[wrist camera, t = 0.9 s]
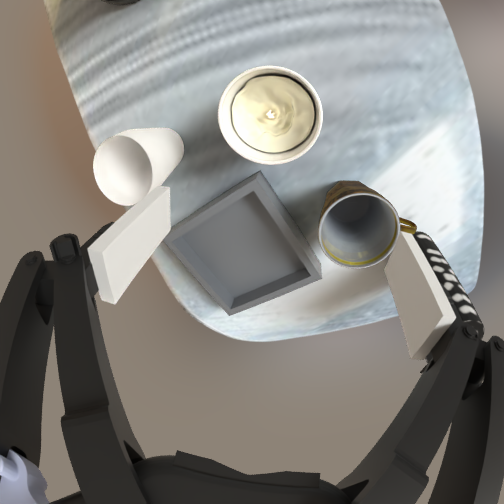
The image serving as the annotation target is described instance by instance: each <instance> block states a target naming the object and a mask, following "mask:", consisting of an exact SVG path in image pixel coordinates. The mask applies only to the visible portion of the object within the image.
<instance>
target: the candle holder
mask: <svg viewBox="0 0 504 504" xmlns="http://www.w3.org/2000/svg"><path fill="white" fill-rule="evenodd" d="M322 121H323V112H322V106H321V102H320V99H319V97H318V95H317V93H316V91H315V90H314V88H313V87H312V86H311V84H310V83H309V82H308V81H307V80H306V79H305V78H303V77H302V76H301V75H299V74H297V73H296V72H294V71H292V70H289V69H286V68H283V67H278V66H260V67H255V68H252V69H249V70H247V71H245V72H243V73H241V74H239V75H238V76H237V77H235V78H234V79H233V80H232V81H231V82H230V83H229V84H228V86H227V87H226V88H225V90H224V92H223V94H222V96H221V98H220V102H219V106H218V122H219V127H220V130H221V133H222V135H223V137H224V139H225V140H226V142H227V143H228V144H229V146H230V147H231V148H232V149H233V150H234V151H235V152H237V153H238V154H239V155H241V156H242V157H244V158H246V159H248V160H250V161H253V162H256V163H260V164H266V165H277V164H283V163H287V162H290V161H293V160H295V159H297V158H299V157H300V156H302V155H303V154H304V153H306V152H307V151H308V150H309V149H310V148H311V147H312V146H313V144H314V143H315V141H316V140H317V138H318V136H319V133H320V131H321V127H322Z"/></svg>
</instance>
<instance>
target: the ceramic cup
mask: <svg viewBox="0 0 504 504" xmlns="http://www.w3.org/2000/svg"><path fill="white" fill-rule="evenodd" d="M400 223H403V224H406V225H409V226H405V225H400ZM410 226H411V227H410ZM416 230H417V226H416V224H414V223H413V222H411V221H409V220H406V219H403V218H400V217H399V216H398V214H397V212H396V210H395V208H394V207H393V205H392V204H391V203H390V202H389V201H388V200H387V199H385V198H384V197H383V196H382V195H380V194H379V193H377V192H376V191H374V190H372V189H370V188H368V187H367V186H365V185H364V184H362V183H361V182H359V181H339V182H338V183H337V184H336V185H335V186H334V187H333V188H332V189H331V190H329V191H328V192H327V195H326V200H325V204H324V207H323V209H322V212H321V216H320V221H319V227H318V239H319V243H320V246H321V248H322V250H323V252H324V253H325V255H326V256H327V257H328V258H329V259H330V260H332V261H333V262H334V263H336V264H338V265H340V266H343V267H346V268H353V269H360V268H366V267H370V266H373V265H375V264H377V263H379V262H381V261H382V260H384V259H385V258H386V257H387V256H388V255H389V254H390V253H391V252H392V251H393V248H394V246H395V243H396V241H397V239H398V236H399V234H400V231H402V232H406V233H410V234H414V233H415V232H416Z"/></svg>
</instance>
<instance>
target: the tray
mask: <svg viewBox="0 0 504 504" xmlns="http://www.w3.org/2000/svg"><path fill="white" fill-rule="evenodd" d="M163 241H164V242H165V243H166V244H167V246H168V247H169V248H170V249H171V250H172V252H173V253H174V254H175V255H176V256H177V258H178V259H179V260H180V261H181V262H182V263H183V265H184V266H185V267H186V268H187V269H188V270H189V271H190V273H191V274H192V275H193V276H194V277H195V278H196V279H197V281H198V282H199V283H200V284H201V285H202V286H203V287H204V289H205V290H206V291H207V292H208V293H209V294H210V295H211V296H212V297H213V299H214V300H215V301H216V302H217V303H218V304H219V305H220V306H221V307H222V308H223V309H224V311H225V312H226V313H227V314H228V315H229V316H230V315H233V314H236V313H238V312H241V311H243V310H246V309H249V308H251V307H254V306H256V305H259V304H261V303H264V302H266V301H269V300H271V299H274V298H276V297H279V296H281V295H284V294H286V293H289V292H291V291H293V290H296V289H298V288H301V287H303V286H305V285H308V284H310V283H312V282H315V281H317V280H319V279H322V274H321V263H320V262H319V260H318V258H317V257H316V255H315V254H314V252H313V250H312V249H311V247H310V246H309V244H308V242H307V241H306V239H305V238H304V236H303V234H302V233H301V231H300V230H299V228H298V227H297V225H296V223H295V222H294V220H293V219H292V217H291V216H290V214H289V213H288V211H287V210H286V208H285V207H284V205H283V204H282V202H281V201H280V199H279V198H278V196H277V195H276V193H275V192H274V190H273V189H272V187H271V186H270V184H269V183H268V181H267V180H266V178H265V177H264V175H263V174H262V172H261V171H259V172H257V173H255V174H254V175H252V176H250V177H249V178H247V179H245V180H244V181H242V182H241V183H239V184H237V185H236V186H234V187H233V188H231V189H229V190H228V191H226V192H225V193H223V194H222V195H220V196H219V197H217V198H215V199H214V200H212V201H211V202H209V203H208V204H206V205H205V206H203V207H202V208H200V209H199V210H197V211H196V212H194V213H193V214H191V215H190V216H188V217H187V218H185V219H184V220H182V221H181V222H179V223H178V224H176V225H175V226H174V227H172V228H171V230H170V231H169V233H168V234H167V235H166V236H165V238H164V239H163Z"/></svg>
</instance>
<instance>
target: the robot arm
mask: <svg viewBox="0 0 504 504" xmlns="http://www.w3.org/2000/svg"><path fill="white" fill-rule="evenodd" d="M101 1H103V2H107V3H110V4H114V5H125V4H130V3H134V2H136V1H139V0H101ZM170 230H171V223H170V187H163V186H157V187H156V188H154V189H153V190H152V191H151V192H150V193H148V194H147V195H146V196H145V197H144V198H142V199H141V200H140V201H139V202H138V203H136V204H135V205H134V206H133V207H132V208H131V209H130V210H128V211H127V212H126V213H125V214H124V215H123V216H122V217H120V218H119V219H118V220H117V221H116V222H111V223H109V224H107V225H105V226H103V227H102V228H101V229H100V230H99V231H98V232H97V233H95V234H94V235H93V236H92V237H91V238H90V239H89V240H88V241H87V242H86V243H85V244H84V245H83V246H82V247H81V248H80V245H79V241H78V237H77V236H76V235H74V234H64V235H61V236H58V237H57V238H55V239H54V240H53V241H52V242H51V244H50V249H51V252H52V255H53V259H54V261H45V260H44V257H43V254H42V252H40V251H33V252H29V253H27V254H26V255H24V256H23V257H22V258H21V260H20V261H19V263H18V265H17V267H16V269H15V271H14V274H13V276H12V278H11V280H10V282H9V284H8V286H7V288H6V291H5V293H4V296H3V298H2V300H1V303H0V504H415V503H416V501H417V500H418V498H419V497H420V495H421V494H422V492H423V491H424V489H425V488H426V486H427V483H428V481H429V477H428V476H427V475H426V471H427V469H428V467H429V465H430V463H431V462H432V460H433V458H434V456H435V454H436V453H437V451H438V449H439V447H440V445H441V443H442V441H443V439H444V437H445V435H446V433H447V431H448V428H449V426H450V424H451V422H452V425H451V429H450V434H449V438H448V443H447V446H446V451H445V454H444V458H443V461H442V465H441V468H440V471H439V474H438V477H437V480H436V483H435V486H434V489H433V492H432V494H431V497H430V499H429V502H428V504H497V503H498V499H499V495H500V491H501V487H502V482H503V477H504V341H503V340H502V339H501V338H499V337H498V336H492V337H491V338H490V340H489V341H488V342H485V341H482V340H480V339H479V336H478V333H477V331H476V330H475V329H474V328H473V327H472V326H471V325H469V324H468V323H464V322H463V321H462V319H461V317H460V315H459V312H458V310H457V308H456V306H455V305H454V302H453V300H452V299H451V296H450V294H449V292H448V290H447V289H446V288H445V287H444V286H443V285H442V283H439V281H438V279H437V277H436V275H435V273H434V272H433V270H432V268H431V266H430V264H429V263H428V261H427V259H426V257H425V255H424V254H423V252H422V250H421V249H420V247H419V245H418V244H417V242H416V240H415V239H414V237H413V235H412V234H410V233H406V232H402V231H400V234H399V236H398V239H397V241H396V243H395V246H394V248H393V251H392V253H391V255H390V258H389V260H388V262H387V264H386V267H385V269H384V271H385V274H386V277H387V280H388V283H389V286H390V289H391V292H392V295H393V298H394V301H395V304H396V308H397V311H398V314H399V317H400V321H401V324H402V328H403V331H404V335H405V339H406V342H407V346H408V350H409V354H410V358H411V359H420V360H424V359H425V357H426V356H427V355H428V354H429V353H430V351H431V353H432V357H433V358H432V359H431V360H430V361H429V363H428V364H427V365H426V366H425V367H424V368H423V370H422V371H421V372H420V373H423V374H422V375H421V377H420V379H419V381H418V382H417V384H416V386H415V388H414V389H413V391H412V393H411V394H410V396H409V397H408V399H407V401H406V402H405V404H404V405H403V407H402V409H401V410H400V411H399V413H398V414H397V416H396V417H395V419H394V420H393V422H392V423H391V424H390V426H389V427H388V429H387V430H386V431H385V433H384V434H383V435H382V437H381V438H380V439H379V441H378V442H377V443H376V445H375V446H374V447H373V448H372V450H371V451H370V452H369V453H368V455H367V456H366V457H365V458H364V459H363V460H362V462H361V463H360V464H359V465H358V466H357V468H356V469H355V470H354V471H353V472H352V473H351V474H349V475H348V476H347V477H345V478H344V479H343V480H342V481H340V482H339V483H338V484H337V485H336V486H335V485H333V484H331V483H329V482H326V481H324V480H321V479H320V473H305V472H290V471H285V472H276V473H268V474H256V475H247V474H243V473H241V472H239V471H236V470H234V469H232V468H229V467H227V466H225V465H223V464H221V463H218V462H216V461H214V460H212V459H208V458H203V457H199V456H196V455H192V454H188V453H184V452H181V451H178V450H177V452H176V456H172V455H167V456H156V457H151V458H147V459H146V458H145V455H144V453H143V451H142V449H141V447H140V445H139V444H138V442H137V440H136V438H135V436H134V434H133V432H132V429H131V427H130V424H129V422H128V419H127V416H126V414H125V411H124V408H123V405H122V402H121V399H120V396H119V394H118V390H117V387H116V384H115V380H114V377H113V374H112V370H111V367H110V363H109V359H108V356H107V352H106V348H105V344H104V339H103V335H102V331H101V327H100V321H99V316H98V311H97V306H96V301H95V298H94V295H95V294H96V293H97V291H98V290H99V294H100V297H101V300H103V301H106V302H109V303H112V304H116V302H117V301H118V300H119V298H120V297H121V295H122V294H123V293H124V291H125V290H126V288H127V287H128V285H129V284H130V283H131V281H132V280H133V279H134V277H135V276H136V274H137V273H138V272H139V270H140V269H141V268H142V266H143V265H144V264H145V262H146V261H147V260H148V258H149V257H150V256H151V254H152V253H153V252H154V250H155V249H156V248H157V247H158V245H159V244H160V243H161V241H162V240H163V239H164V238H165V236H166V235H167V234H168V233H169V231H170ZM53 326H54V330H55V344H56V355H57V364H58V372H59V379H60V385H61V392H62V397H63V402H64V407H65V415H64V416H62V417H61V427H62V432H63V436H64V440H65V443H66V447H67V451H68V454H69V458H70V461H71V464H72V467H73V470H74V473H75V476H76V479H77V481H78V484H79V487H80V490H81V491H79V492H76V493H74V494H71V495H69V496H67V497H64V498H61V499H59V500H57V501H54V502H51V503H49V501H48V500H47V498H46V495H45V492H44V491H45V490H46V489H47V482H46V480H45V478H44V477H43V476H42V473H41V472H40V470H39V469H38V468H39V462H40V453H41V420H42V403H43V391H44V381H45V372H46V366H47V359H48V353H49V347H50V341H51V336H52V331H53ZM483 380H484V381H483ZM482 381H483V383H482Z"/></svg>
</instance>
